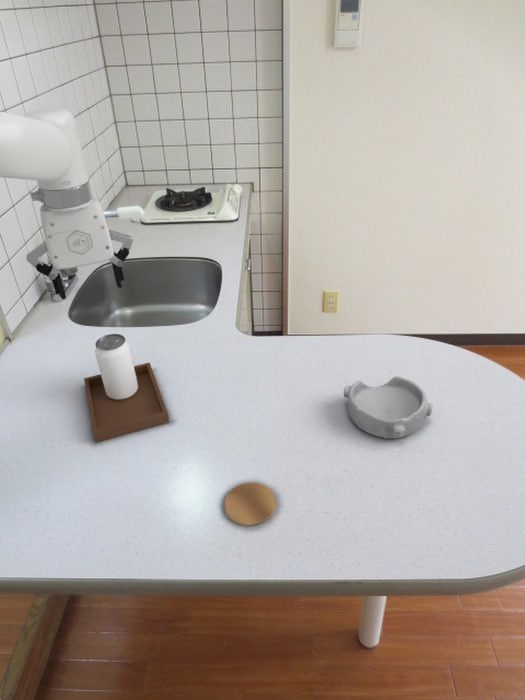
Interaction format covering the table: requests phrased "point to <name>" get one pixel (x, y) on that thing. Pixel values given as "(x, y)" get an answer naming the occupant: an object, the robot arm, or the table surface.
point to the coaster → (250, 504)
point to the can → (116, 366)
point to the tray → (125, 406)
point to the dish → (388, 407)
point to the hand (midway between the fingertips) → (91, 290)
